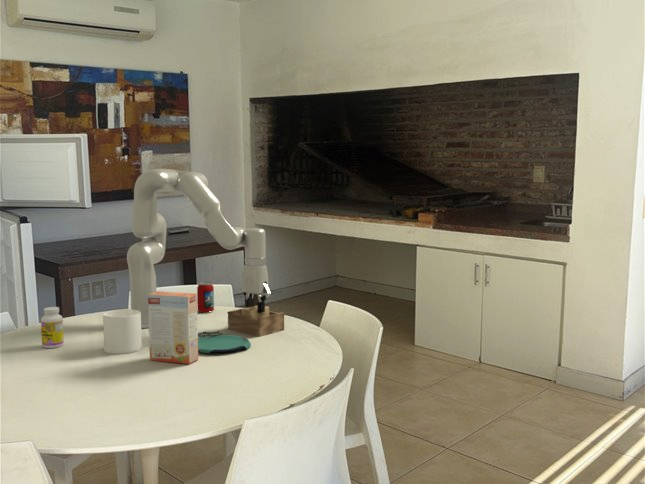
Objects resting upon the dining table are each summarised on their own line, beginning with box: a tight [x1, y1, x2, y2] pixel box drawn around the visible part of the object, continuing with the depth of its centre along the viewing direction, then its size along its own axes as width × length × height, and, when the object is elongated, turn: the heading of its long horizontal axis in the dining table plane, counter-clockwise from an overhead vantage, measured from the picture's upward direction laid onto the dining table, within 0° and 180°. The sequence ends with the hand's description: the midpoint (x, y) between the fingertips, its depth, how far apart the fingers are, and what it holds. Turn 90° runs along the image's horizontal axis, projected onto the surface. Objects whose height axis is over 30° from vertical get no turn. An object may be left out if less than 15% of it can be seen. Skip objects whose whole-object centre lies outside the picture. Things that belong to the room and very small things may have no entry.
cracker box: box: [148, 291, 199, 365], centre depth 191 cm, size 14×6×21 cm, turn 71°
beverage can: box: [196, 281, 215, 313], centre depth 259 cm, size 7×7×12 cm
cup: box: [102, 308, 143, 355], centre depth 203 cm, size 12×12×12 cm
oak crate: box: [241, 305, 270, 319], centre depth 229 cm, size 9×5×6 cm, turn 141°
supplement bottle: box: [40, 306, 64, 349], centre depth 207 cm, size 7×7×13 cm
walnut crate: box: [227, 307, 286, 337], centre depth 229 cm, size 13×17×7 cm
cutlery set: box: [198, 330, 251, 354], centre depth 211 cm, size 20×30×2 cm, turn 28°
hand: (255, 310), depth 229 cm, fingers closed on oak crate, 4 cm apart
